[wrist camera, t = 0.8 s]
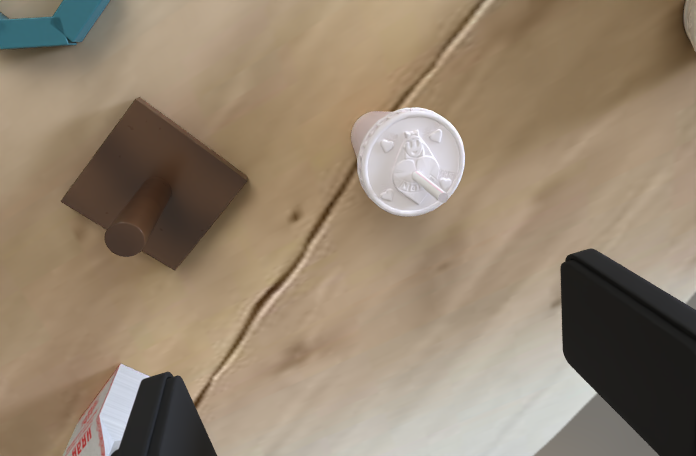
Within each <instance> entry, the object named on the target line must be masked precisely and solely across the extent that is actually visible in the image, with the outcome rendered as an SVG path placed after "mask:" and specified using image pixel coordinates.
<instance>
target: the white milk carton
mask: <svg viewBox="0 0 696 456" xmlns="http://www.w3.org/2000/svg"><path fill="white" fill-rule="evenodd" d="M148 377H150V376H148V375H145V374H143V373H141V372H139V371H136V370H134V369H132V368H130V367H127V366H125V365H123V364H120V365H119V366H118V368H117V369H116V370H115V372H114V373H113V375H112V376H111V377H110V379H109V380H108V381H107V383H106V384H105V385H104V387H103V388H102V389H101V391H100V392H99V394H98V395H97V396H96V398H95V399H94V400H93V402H92V403H91V404H90V406H89V407H88V408H87V410H86V411H85V413H84V414H83V415H82V417H81V418H80V419H79V421H78V423H77V425H76V428H75V430H74V432H73V434H72V436H71V438H70V441H69V443H68V445H67V447H66V449H65V452H64V454H63V456H111V454H112V453H113V452H114V451H115V450H118V449H119V446H120V443H121V440H122V437H123V434H124V431H125V428H126V425H127V422H128V419H129V416H130V413H131V410H132V407H133V404H134V401H135V398H136V395H137V392H138V389H139V386H140V383H141V381H142V380H143V379H145V378H148Z"/></svg>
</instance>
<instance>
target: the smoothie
mask: <svg viewBox="0 0 696 456" xmlns="http://www.w3.org/2000/svg"><path fill="white" fill-rule="evenodd" d="M351 142H352V145H353V148H354V151H355V154H356V157H357V173H358V176H359V180H360V183H361V186H362V188H363V189H364V191H365V193H366V194H367V196H368V197H369V198H370V199H371V200H372V201H373V202H374V203H375V204H376V205H377V206H379V207H380V208H381V209H383V210H385V211H386V212H389V213H391V214H394V215H398V216H407V217H410V216H418V215H422V214H425V213H428V212H430V211H432V210H434V209H436V208H438V207H439V206H440V205H442V204H443V203H445V202H446V201H447V200H448V198H449V197H450V196H451V195H452V194H453V192H454V191H455V189H456V188H457V186H458V184H459V182H460V180H461V177H462V174H463V171H464V165H465V152H464V146H463V143H462V140H461V137H460V135H459V133H458V132H457V130H456V129H455V128H454V126H453V125H452V124H451V123H450V122H449V121H447V120H446V119H445V118H443V117H442V116H440V115H438V114H437V113H435V112H433V111H431V110H427V109H423V108H419V107H414V108H403V109H399V110H396V111H393V112H382V111H372V112H368V113H366V114H364V115H362V116H361V117H360V118H358V120H357V121H356V122H355V124H354V126H353V128H352V131H351Z"/></svg>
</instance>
